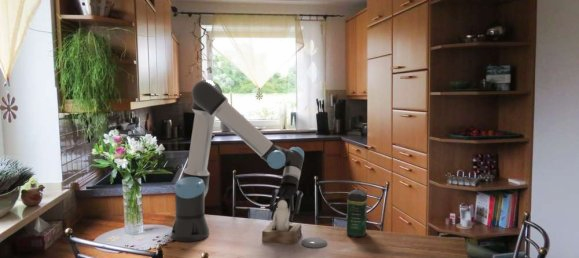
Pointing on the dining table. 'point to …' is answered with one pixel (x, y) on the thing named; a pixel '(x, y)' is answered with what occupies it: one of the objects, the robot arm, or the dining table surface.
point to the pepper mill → (281, 215)
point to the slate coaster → (314, 242)
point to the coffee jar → (356, 213)
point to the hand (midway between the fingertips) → (279, 227)
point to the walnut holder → (282, 234)
